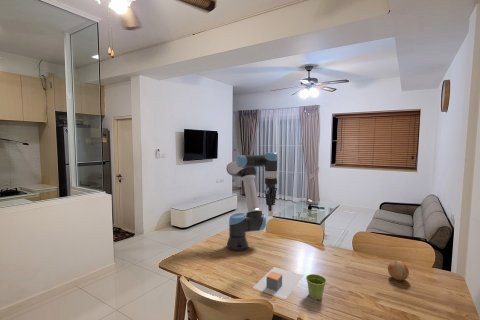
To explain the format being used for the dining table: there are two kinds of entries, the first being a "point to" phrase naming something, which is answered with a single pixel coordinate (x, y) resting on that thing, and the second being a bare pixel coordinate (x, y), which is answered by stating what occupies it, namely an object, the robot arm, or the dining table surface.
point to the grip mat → (287, 283)
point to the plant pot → (315, 285)
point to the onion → (398, 270)
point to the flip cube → (274, 281)
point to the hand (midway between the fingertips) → (270, 215)
